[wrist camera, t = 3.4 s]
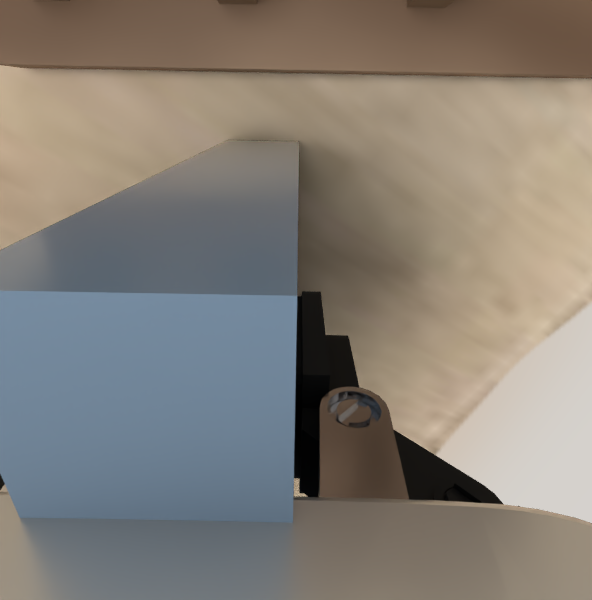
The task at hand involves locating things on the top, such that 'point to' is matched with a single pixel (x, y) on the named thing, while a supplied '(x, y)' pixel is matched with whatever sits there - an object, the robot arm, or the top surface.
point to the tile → (158, 347)
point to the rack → (303, 36)
